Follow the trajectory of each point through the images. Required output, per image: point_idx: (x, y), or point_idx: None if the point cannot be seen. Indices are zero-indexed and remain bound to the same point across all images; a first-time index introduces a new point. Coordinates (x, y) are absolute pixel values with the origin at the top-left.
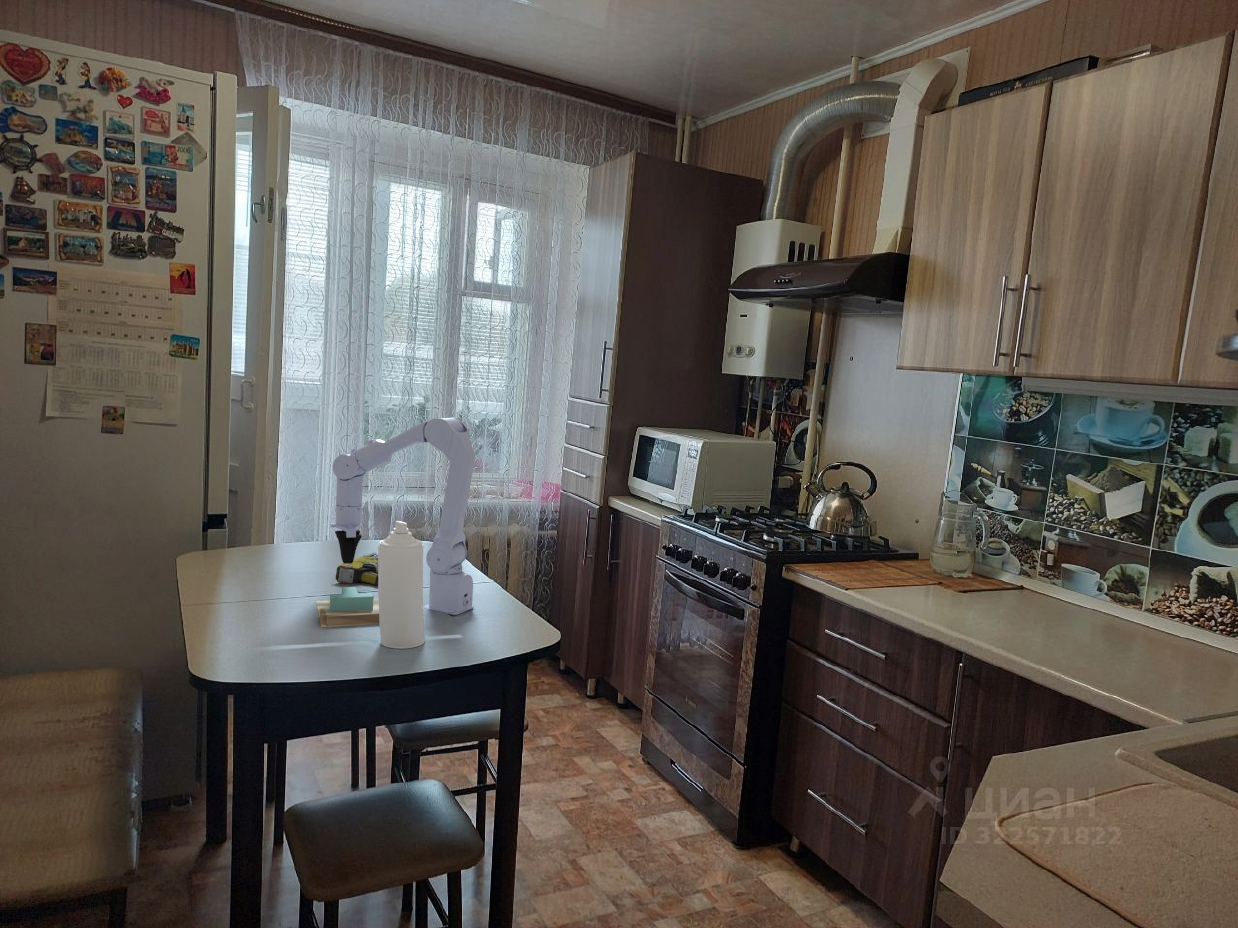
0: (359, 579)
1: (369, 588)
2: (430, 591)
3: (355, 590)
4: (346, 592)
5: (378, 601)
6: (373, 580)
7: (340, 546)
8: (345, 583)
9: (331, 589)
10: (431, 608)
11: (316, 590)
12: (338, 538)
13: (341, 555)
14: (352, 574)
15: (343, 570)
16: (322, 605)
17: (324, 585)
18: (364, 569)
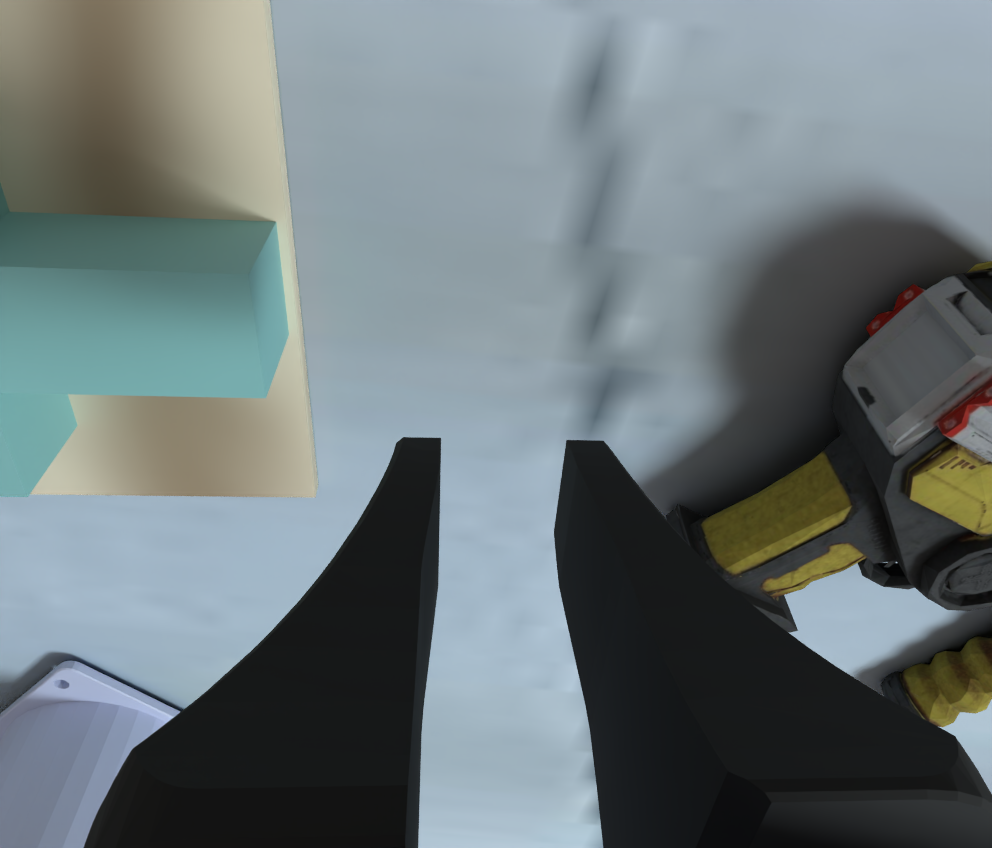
0: (837, 443)
1: (697, 465)
2: (15, 802)
3: (113, 383)
4: (19, 295)
5: (216, 481)
6: (723, 529)
7: (364, 603)
8: (879, 322)
9: (794, 180)
10: (38, 705)
11: (822, 20)
12: (127, 768)
13: (579, 480)
14: (874, 420)
15: (960, 368)
16: (59, 2)
17: (979, 130)
18: (894, 531)
